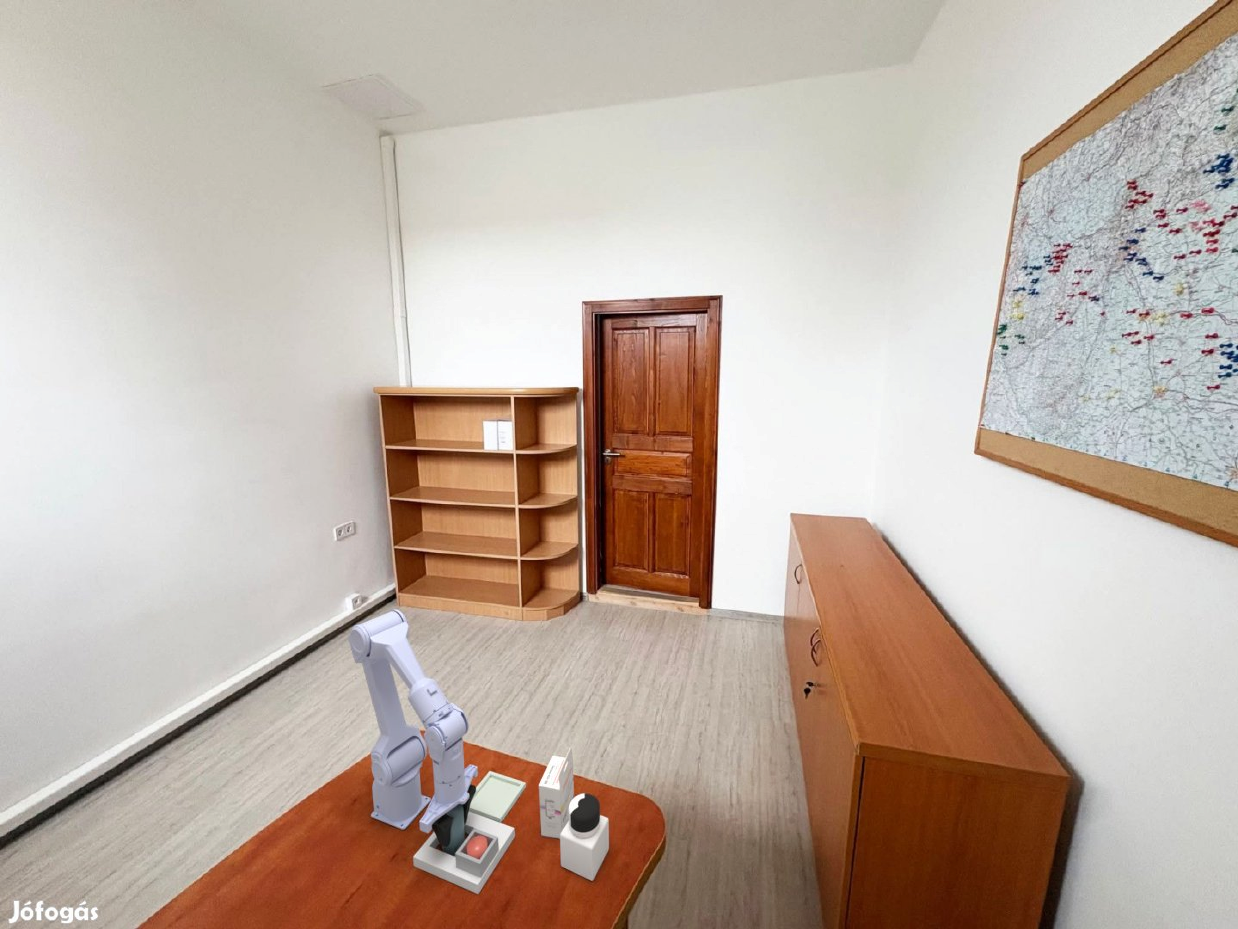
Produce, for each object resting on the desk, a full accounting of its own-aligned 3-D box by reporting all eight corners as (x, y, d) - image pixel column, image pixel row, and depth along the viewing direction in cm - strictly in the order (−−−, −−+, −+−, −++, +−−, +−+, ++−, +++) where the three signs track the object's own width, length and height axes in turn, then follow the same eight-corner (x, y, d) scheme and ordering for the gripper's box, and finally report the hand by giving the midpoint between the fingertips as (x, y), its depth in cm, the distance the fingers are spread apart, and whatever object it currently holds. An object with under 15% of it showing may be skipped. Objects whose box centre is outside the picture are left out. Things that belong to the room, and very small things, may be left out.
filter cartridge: (437, 852, 92) (434, 816, 91) (452, 833, 96) (450, 799, 95) (455, 859, 91) (453, 823, 90) (469, 840, 95) (467, 805, 94)
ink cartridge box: (553, 801, 104) (551, 742, 102) (574, 805, 103) (573, 745, 101) (539, 836, 96) (537, 772, 94) (562, 840, 95) (560, 776, 93)
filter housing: (413, 866, 90) (412, 843, 89) (455, 814, 101) (454, 794, 100) (478, 894, 84) (476, 870, 84) (514, 836, 96) (513, 815, 95)
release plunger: (463, 863, 88) (462, 850, 87) (475, 845, 91) (475, 833, 91) (479, 870, 86) (479, 857, 86) (492, 852, 90) (491, 839, 90)
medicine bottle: (609, 849, 93) (608, 795, 91) (592, 882, 86) (591, 825, 85) (578, 835, 96) (577, 783, 94) (560, 866, 89) (558, 811, 88)
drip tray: (462, 809, 102) (462, 804, 102) (489, 775, 111) (489, 771, 111) (500, 823, 99) (500, 818, 98) (525, 787, 108) (525, 782, 108)
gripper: (439, 808, 83) (443, 874, 85) (488, 751, 97) (491, 809, 99) (408, 796, 86) (413, 861, 88) (461, 743, 99) (464, 799, 101)
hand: (453, 833), depth 93 cm, fingers closed on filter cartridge, 4 cm apart
